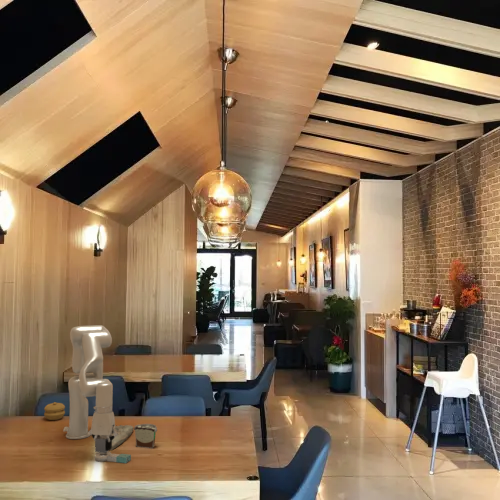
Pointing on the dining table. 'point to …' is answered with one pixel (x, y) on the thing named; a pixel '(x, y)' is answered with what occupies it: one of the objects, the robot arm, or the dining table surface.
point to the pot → (54, 411)
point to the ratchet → (112, 457)
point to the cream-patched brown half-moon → (145, 435)
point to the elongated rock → (121, 435)
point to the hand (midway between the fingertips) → (103, 448)
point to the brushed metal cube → (101, 444)
